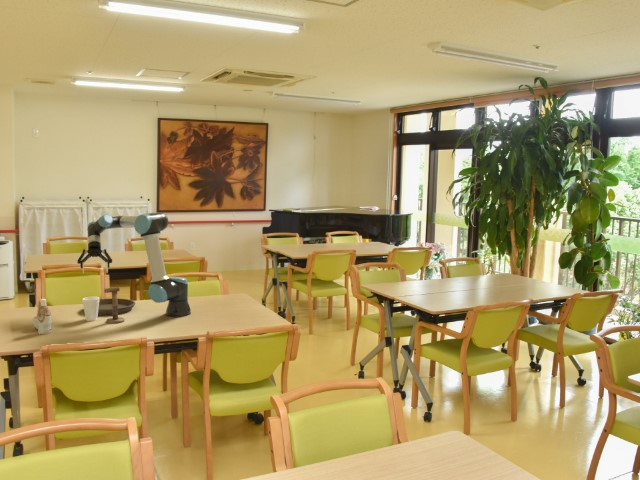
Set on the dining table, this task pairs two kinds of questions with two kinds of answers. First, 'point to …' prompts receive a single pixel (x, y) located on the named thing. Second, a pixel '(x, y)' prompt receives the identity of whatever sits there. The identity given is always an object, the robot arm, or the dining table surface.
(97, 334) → the dining table surface
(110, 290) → the walnut post
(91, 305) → the foam cup
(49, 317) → the cosmetic set
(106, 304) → the plant saucer
